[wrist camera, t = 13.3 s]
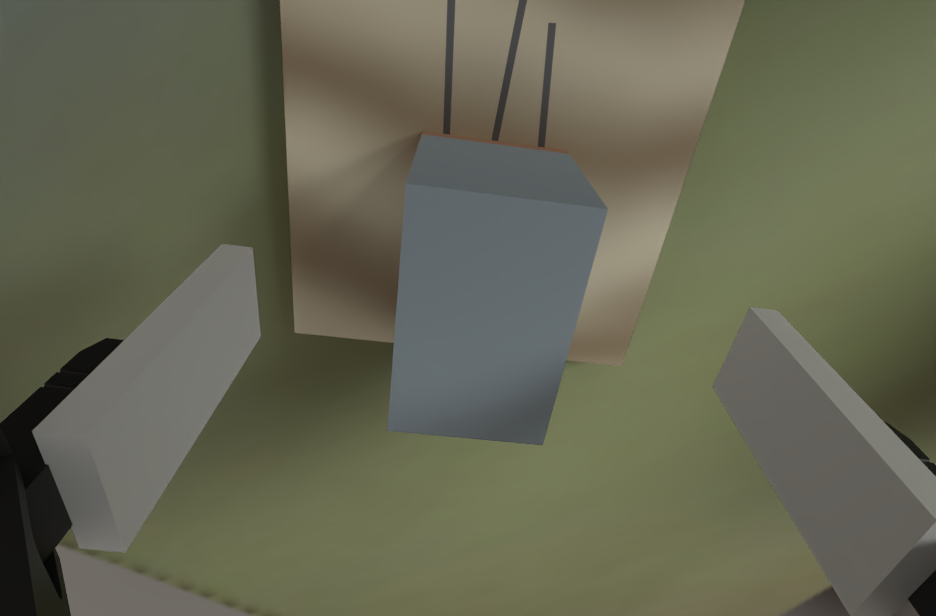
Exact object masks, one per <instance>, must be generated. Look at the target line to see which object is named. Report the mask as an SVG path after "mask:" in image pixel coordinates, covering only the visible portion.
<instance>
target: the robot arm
mask: <svg viewBox="0 0 936 616" xmlns="http://www.w3.org/2000/svg"><path fill="white" fill-rule="evenodd" d="M260 337H261V333H260V322H259V311H258V300H257V289H256V278H255V267H254V256H253V247H245V246H236V245H228V244H221V245H220V246H219V247H218V248H217V249H216V250H215V251H214V252H213V253H212V254H211V255H210V256H209V257H208V258H207V259H206V260H205V261H204V262H203V263H202V264H201V265H200V266H199V267H198V268H197V269H196V270H195V271H194V272H193V273H192V274H191V275H190V276H189V277H188V278H187V279H186V280H185V281H184V282H183V283H182V284H181V285H180V286H179V287H178V288H177V289H176V290H175V291H174V292H173V293H172V294H171V295H170V296H169V297H168V298H166V299H165V300H164V301H163V302H162V303H161V304H160V305H159V306H158V307H157V308H156V309H155V310H154V311H153V312H152V313H151V314H150V315H149V316H148V317H147V318H146V319H145V320H144V321H143V322H142V323H141V324H140V325H139V326H138V327H137V328H136V329H135V330H134V331H133V332H132V333H131V334H130V335H129V336H128V337H127V338H126V339H125V340H118V339H109V338H106V339H104V340H102V341H100V342H98V343H96V344H94V345H92V346H90V347H88V348H86V349H84V350H82V351H80V352H79V353H78V354H77V355H75V356H74V357H73V358H72V359H71V360H70V361H69V362H68V363H67V364H66V365H64V366H63V367H62V368H61V371H60V373H56V374H54V375H53V376H52V377H51V378H50V379H49V380H48V381H47V382H46V383H45V386H44V387H40V388H39V389H38V390H37V391H36V392H35V393H33V394H32V395H31V396H30V397H29V398H28V399H27V400H26V401H25V402H23V403H22V404H21V405H20V406H19V407H18V408H17V409H16V410H15V411H13V412H12V413H11V414H10V415H9V416H8V417H7V418H6V419H5V420H4V421H2V422H1V423H0V616H71V614H70V609H69V604H68V599H67V594H66V589H65V583H64V578H63V573H62V568H61V563H60V558H59V556H58V554H57V552H56V549H55V547H56V546H57V545H58V543H59V542H60V541H61V540H62V538H63V537H64V536H65V534H66V533H67V532H68V530H69V529H70V528H72V531H73V533H74V536H75V538H76V541H77V543H78V546H79V548H80V549H91V550H102V551H113V552H125V553H126V551H127V549H128V548H129V546H130V545H131V543H132V541H133V540H134V538H135V537H136V535H137V533H138V532H139V530H140V529H141V527H142V525H143V524H144V522H145V521H146V519H147V518H148V516H149V514H150V513H151V511H152V510H153V508H154V506H155V505H156V503H157V502H158V500H159V498H160V497H161V495H162V494H163V492H164V490H165V489H166V487H167V486H168V484H169V482H170V481H171V479H172V478H173V476H174V474H175V473H176V471H177V470H178V468H179V466H180V465H181V463H182V462H183V460H184V458H185V457H186V455H187V454H188V452H189V450H190V449H191V447H192V446H193V444H194V443H195V441H196V439H197V438H198V436H199V435H200V433H201V431H202V430H203V428H204V427H205V425H206V423H207V422H208V420H209V419H210V417H211V415H212V414H213V412H214V411H215V409H216V407H217V406H218V404H219V403H220V401H221V399H222V398H223V396H224V395H225V393H226V391H227V390H228V388H229V387H230V385H231V383H232V382H233V380H234V379H235V377H236V376H237V374H238V372H239V371H240V369H241V368H242V366H243V364H244V363H245V361H246V360H247V358H248V356H249V355H250V353H251V352H252V350H253V348H254V347H255V345H256V344H257V342H258V340H259V339H260ZM713 389H714V390H715V392H716V394H717V395H718V397H719V399H720V400H721V402H722V404H723V405H724V407H725V409H726V410H727V412H728V414H729V415H730V417H731V419H732V420H733V422H734V423H735V425H736V427H737V428H738V430H739V432H740V433H741V435H742V437H743V438H744V440H745V442H746V443H747V445H748V447H749V448H750V450H751V452H752V453H753V455H754V457H755V458H756V460H757V462H758V463H759V465H760V467H761V468H762V470H763V472H764V473H765V475H766V477H767V478H768V480H769V482H770V483H771V485H772V487H773V488H774V490H775V492H776V493H777V495H778V497H779V498H780V500H781V502H782V503H783V505H784V507H785V508H786V510H787V512H788V513H789V515H790V517H791V518H792V520H793V521H794V523H795V525H796V526H797V528H798V530H799V531H800V533H801V535H802V536H803V538H804V540H805V541H806V543H807V545H808V546H809V548H810V550H811V551H812V553H813V555H814V556H815V558H816V560H817V561H818V563H819V565H820V566H821V568H822V570H823V571H824V573H825V575H826V576H827V578H828V580H829V581H830V583H831V585H832V586H833V588H834V590H835V591H836V593H837V595H838V596H839V598H840V599H841V601H842V603H843V605H844V606H845V608H846V609H847V611H848V613H849V614H850V616H893V615H894V614H895V613H896V612H897V611H898V610H899V609H900V608H901V607H902V606H903V605H904V604H905V603H906V602H907V601H908V600H909V601H910V603H911V604H912V605H913V607H914V608H915V610H916V611H917V612H918V614H919V615H920V616H936V465H935V464H934V463H930V462H929V458H928V457H927V456H926V455H925V454H924V453H923V452H922V451H921V450H920V449H919V448H918V447H917V446H916V445H915V444H914V443H913V442H912V441H911V440H910V439H909V438H907V437H906V436H905V435H903V434H902V433H900V432H899V431H898V430H896V429H895V428H893V427H892V426H891V425H889V424H888V423H886V422H884V421H882V420H881V419H880V417H879V416H878V415H877V414H876V413H875V412H874V411H873V410H872V409H871V408H870V407H869V406H868V405H867V404H866V403H865V402H864V401H863V400H862V399H861V398H860V397H859V395H858V394H857V393H856V392H855V391H854V390H853V389H852V388H851V387H850V386H849V385H848V384H847V383H846V382H845V381H844V380H843V379H842V378H841V377H840V376H839V374H838V373H837V372H836V371H835V370H834V369H833V368H832V367H831V366H830V365H829V364H828V363H827V362H826V361H825V360H824V359H823V358H822V357H821V356H820V355H819V353H818V352H817V351H816V350H815V349H814V348H813V347H812V346H811V345H810V344H809V343H808V342H807V341H806V340H805V339H804V338H803V337H802V336H801V335H800V334H799V332H798V331H797V330H796V329H795V328H794V327H793V326H792V325H791V324H790V323H789V322H788V321H787V320H786V319H785V318H784V317H783V316H782V315H781V314H780V313H779V311H778V310H770V309H762V308H753V307H750V308H749V310H748V312H747V315H746V317H745V319H744V321H743V323H742V325H741V327H740V329H739V331H738V334H737V336H736V338H735V340H734V342H733V344H732V346H731V348H730V351H729V353H728V355H727V357H726V359H725V361H724V363H723V365H722V368H721V370H720V372H719V374H718V376H717V378H716V380H715V382H714V384H713Z"/></svg>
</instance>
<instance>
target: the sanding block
mask: <svg viewBox="0 0 936 616" xmlns="http://www.w3.org/2000/svg"><path fill="white" fill-rule="evenodd" d="M607 211H608V208H607V207H606V205H605V204H604V203H603V201H602V200H601V198H600V197H599V196H598V194H597V193H596V191H595V190H594V188H593V187H592V186H591V184H590V183H589V181H588V180H587V178H586V177H585V176H584V174H583V173H582V171H581V170H580V168H579V167H578V166H577V164H576V163H575V161H574V160H573V158H572V157H571V156H570V154H569V153H568V151H567V150H559V149H552V148H544V147H537V146H530V145H522V144H515V143H507V142H500V141H493V140H485V139H478V138H470V137H463V136H456V135H448V134H441V133H433V132H426V131H423V132H422V135H421V138H420V141H419V144H418V147H417V150H416V153H415V156H414V160H413V163H412V166H411V169H410V172H409V175H408V178H407V181H406V187H405V200H404V214H403V227H402V240H401V254H400V267H399V281H398V294H397V308H396V321H395V335H394V348H393V361H392V375H391V388H390V402H389V415H388V429H387V431H396V432H407V433H418V434H428V435H439V436H450V437H460V438H471V439H482V440H493V441H503V442H514V443H525V444H535V445H543V442H544V439H545V435H546V431H547V428H548V424H549V421H550V417H551V413H552V410H553V406H554V403H555V399H556V395H557V392H558V388H559V385H560V381H561V377H562V374H563V370H564V367H565V363H566V359H567V356H568V352H569V349H570V345H571V341H572V338H573V334H574V330H575V327H576V323H577V320H578V316H579V312H580V309H581V305H582V302H583V298H584V294H585V291H586V287H587V284H588V280H589V276H590V273H591V269H592V266H593V262H594V258H595V255H596V251H597V248H598V244H599V240H600V237H601V233H602V230H603V226H604V222H605V219H606V215H607Z"/></svg>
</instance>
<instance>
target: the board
mask: <svg viewBox="0 0 936 616" xmlns="http://www.w3.org/2000/svg"><path fill="white" fill-rule="evenodd" d="M744 3H745V0H280V14H281V37H282V60H283V82H284V105H285V128H286V150H287V173H288V196H289V218H290V241H291V264H292V287H293V309H294V332H295V333H302V334H311V335H321V336H331V337H341V338H351V339H361V340H370V341H380V342H390V343H394V335H395V321H396V308H397V294H398V281H399V267H400V254H401V240H402V227H403V214H404V200H405V187H406V181H407V178H408V175H409V172H410V169H411V166H412V163H413V160H414V156H415V153H416V150H417V147H418V144H419V141H420V138H421V135H422V132H423V131H426V132H433V133H441V134H448V135H456V136H463V137H470V138H478V139H485V140H493V141H500V142H507V143H515V144H522V145H530V146H537V147H544V148H552V149H559V150H567V151H568V153H569V154H570V156H571V157H572V158H573V160H574V161H575V163H576V164H577V166H578V167H579V168H580V170H581V171H582V173H583V174H584V176H585V177H586V178H587V180H588V181H589V183H590V184H591V186H592V187H593V188H594V190H595V191H596V193H597V194H598V196H599V197H600V198H601V200H602V201H603V203H604V204H605V205H606V207H607V208H608V211H607V215H606V219H605V222H604V226H603V230H602V233H601V237H600V240H599V244H598V248H597V251H596V255H595V258H594V262H593V266H592V269H591V273H590V276H589V280H588V284H587V287H586V291H585V294H584V298H583V302H582V305H581V309H580V312H579V316H578V320H577V323H576V327H575V330H574V334H573V338H572V341H571V345H570V349H569V352H568V356H567V359H566V360H567V361H577V362H587V363H596V364H606V365H616V366H622V364H623V361H624V358H625V355H626V352H627V349H628V346H629V343H630V340H631V337H632V334H633V331H634V328H635V325H636V322H637V319H638V316H639V313H640V310H641V307H642V304H643V301H644V298H645V296H646V293H647V290H648V287H649V284H650V281H651V278H652V275H653V272H654V269H655V266H656V263H657V260H658V257H659V254H660V251H661V248H662V245H663V242H664V239H665V236H666V233H667V230H668V227H669V225H670V222H671V219H672V216H673V213H674V210H675V207H676V204H677V201H678V198H679V195H680V192H681V189H682V186H683V183H684V180H685V177H686V174H687V171H688V168H689V165H690V162H691V159H692V156H693V154H694V151H695V148H696V145H697V142H698V139H699V136H700V133H701V130H702V127H703V124H704V121H705V118H706V115H707V112H708V109H709V106H710V103H711V100H712V97H713V94H714V91H715V88H716V85H717V82H718V80H719V77H720V74H721V71H722V68H723V65H724V62H725V59H726V56H727V53H728V50H729V47H730V44H731V41H732V38H733V35H734V32H735V29H736V26H737V23H738V20H739V17H740V14H741V11H742V9H743V6H744Z"/></svg>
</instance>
